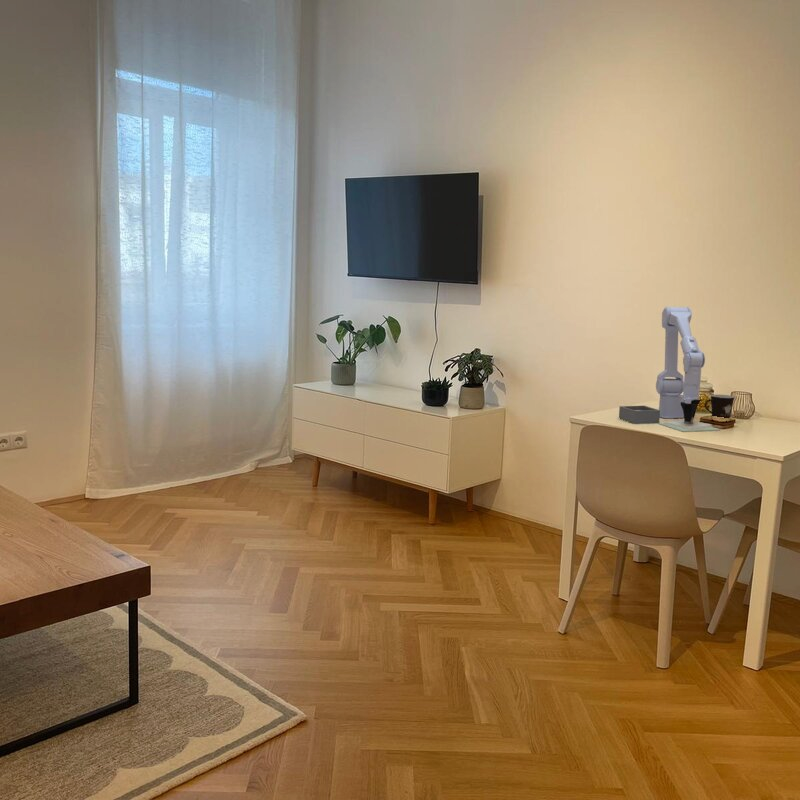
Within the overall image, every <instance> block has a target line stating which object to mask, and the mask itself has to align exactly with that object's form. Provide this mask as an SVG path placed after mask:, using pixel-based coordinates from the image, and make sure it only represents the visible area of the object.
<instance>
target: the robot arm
mask: <svg viewBox="0 0 800 800" xmlns="http://www.w3.org/2000/svg"><path fill="white" fill-rule="evenodd" d="M692 314H693V313H692V310H691V308H690V307H689V306H687V307H685V306H684V307H681V306H680V307H676V306H672V307H671V306H664V308H663V310H662V313H661V327H662V328H663V329H665V330H664V331H665V335H664V336H665V344H664V345H665V346H664V370H662V371H660V373H658V374H657V376H656V382H655V390H656V393H657V394H658V395H659V402H658V410H660V418H663V419H683V420H685V422H691V419H692V417H693V420H694V419H695V416H696V413H697V409H698V406H699V405H700V403H701V399H700V390H701V379H702V378H701V377H702V369H703V368H704V366H705V363H706V358H705V357H706V356H705V353H704V352H703V351H702V349H700V348H699V345H698V342H697V339H696V338H695V337H694V336H692V331H691V326H690V323H691V320H692ZM679 335H680V338H681V340H680V346H681V349H682V354H683V358H682V365H683V372H684V375H683V374H682V373H681V372H679V370H678V366H679V364H678V362H679V361H678V360H679V359H678V357H679Z"/></svg>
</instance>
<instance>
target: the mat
mask: <svg viewBox="0 0 800 800" xmlns="http://www.w3.org/2000/svg"><path fill="white" fill-rule="evenodd" d="M657 424H658V425H660V426H663V427H667V428H670V429H673V430H676V431H678V432H679V431H680V432H681V433H690V432H691V433H692V432H712V431H713V432H714V431H715V432H716V431H718V432H719V431H721V428H717V427H715V426H714V427H713V426H712V427H711V428H703V429H696V430H688V429H683V428H678V427H674V426H669V425H665V422H659V423H657Z"/></svg>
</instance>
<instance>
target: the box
mask: <svg viewBox="0 0 800 800" xmlns="http://www.w3.org/2000/svg"><path fill="white" fill-rule="evenodd" d="M635 410H640V411H635ZM618 412H619V413H618V419H619V418H620V419H619V420H621V419H623V420H622V421H624V420H625V422H627V421H628V422H627V423H630V424H633V425H643V424H658V423H660V418H661V417H660V410H659V408H654V407H651V406H647V405H625V406H624V405H622V406H621V405H620V406H619V409H618Z"/></svg>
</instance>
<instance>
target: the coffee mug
mask: <svg viewBox="0 0 800 800" xmlns="http://www.w3.org/2000/svg"><path fill="white" fill-rule="evenodd" d="M734 400H735V396H734V395H730V394H729V395H728V394H711V395H710V399H708V400H706V401H705V403H704V408H705V409H706V410H707V412H709V413H710V414H711V417H712V416H717V417H724V418H730V419H731V415H732V409H733V407H734V406H733V405H734ZM709 402H710V407H711V408H710V409H711V410H710V409H709V408H708V406H707V404H708V403H709Z"/></svg>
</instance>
